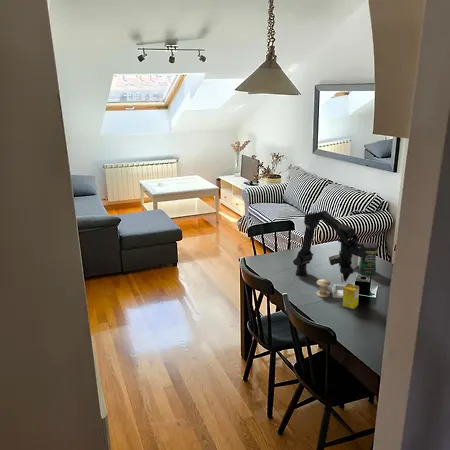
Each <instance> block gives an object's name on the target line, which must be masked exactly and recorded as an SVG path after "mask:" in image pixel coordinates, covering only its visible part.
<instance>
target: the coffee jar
mask: <svg viewBox="0 0 450 450" xmlns="http://www.w3.org/2000/svg"><path fill="white" fill-rule="evenodd" d="M361 243H362V244H364V247H365V248H366V253H365V255H364V256H363V257H359V258H360V260H359V263H358V273H360V274H361V275H364V276H365V275H366V276H367V275H370V276H373V275H376V272H377V263H376V262H377V261H376V258H377V257H376V256H377V253H378V245H377V243H376V242H361Z"/></svg>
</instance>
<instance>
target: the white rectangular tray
mask: <svg viewBox="0 0 450 450" xmlns="http://www.w3.org/2000/svg"><path fill="white" fill-rule="evenodd" d="M346 285H347V284H336V283H335V284H333V286H332V287H331V290H332V298H336V299H337V298H338V299H341V298H342V299H343V287H345V286H346Z"/></svg>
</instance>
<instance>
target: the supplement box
mask: <svg viewBox="0 0 450 450" xmlns="http://www.w3.org/2000/svg"><path fill="white" fill-rule="evenodd" d="M345 285H346V286H345V287H343V298H342V308H344V309H348V310H352V311H354V310H355V309H357V307H358V306H359V296H360V294H359V293H360V286H359V285H356V284H352V283H349V282H348V283H346V284H345Z"/></svg>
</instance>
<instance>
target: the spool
mask: <svg viewBox="0 0 450 450" xmlns="http://www.w3.org/2000/svg"><path fill="white" fill-rule="evenodd" d="M316 285H318V286H319V290H317V291H316V295H317V296H318V297H319V298H328V297H330V296H331V292H330V291H328V287H329V286H331V281H330V280H328V279H324V278H321V279H318V280H317V281H316Z"/></svg>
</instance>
